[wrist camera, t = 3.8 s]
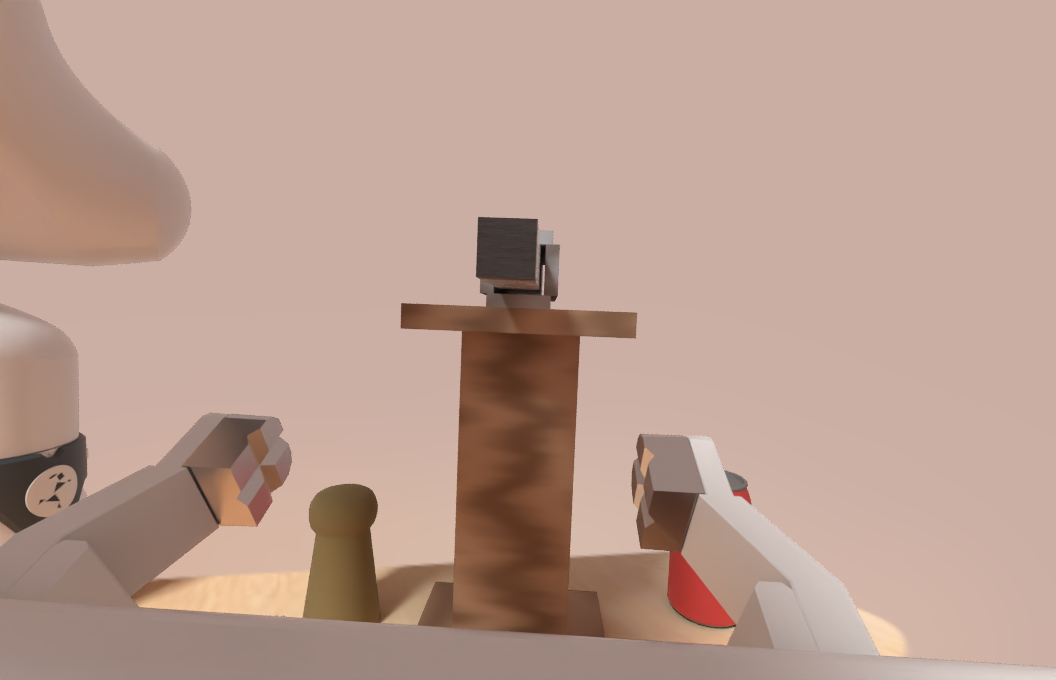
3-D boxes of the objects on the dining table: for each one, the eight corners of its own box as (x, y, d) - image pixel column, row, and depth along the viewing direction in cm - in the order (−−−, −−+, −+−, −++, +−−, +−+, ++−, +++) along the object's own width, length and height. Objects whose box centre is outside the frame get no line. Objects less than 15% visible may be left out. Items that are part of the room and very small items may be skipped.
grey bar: (476, 276, 20) (478, 216, 20) (513, 296, 42) (515, 268, 41) (535, 279, 20) (537, 219, 19) (541, 297, 42) (543, 269, 41)
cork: (322, 596, 43) (324, 474, 42) (390, 601, 42) (393, 478, 42) (285, 643, 37) (287, 501, 36) (364, 648, 36) (367, 505, 36)
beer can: (736, 593, 46) (744, 469, 45) (753, 638, 39) (763, 494, 39) (664, 582, 47) (671, 462, 47) (669, 624, 41) (678, 485, 40)
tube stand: (390, 718, 30) (403, 225, 29) (435, 603, 42) (445, 251, 41) (614, 734, 30) (641, 233, 28) (595, 614, 42) (613, 257, 40)
